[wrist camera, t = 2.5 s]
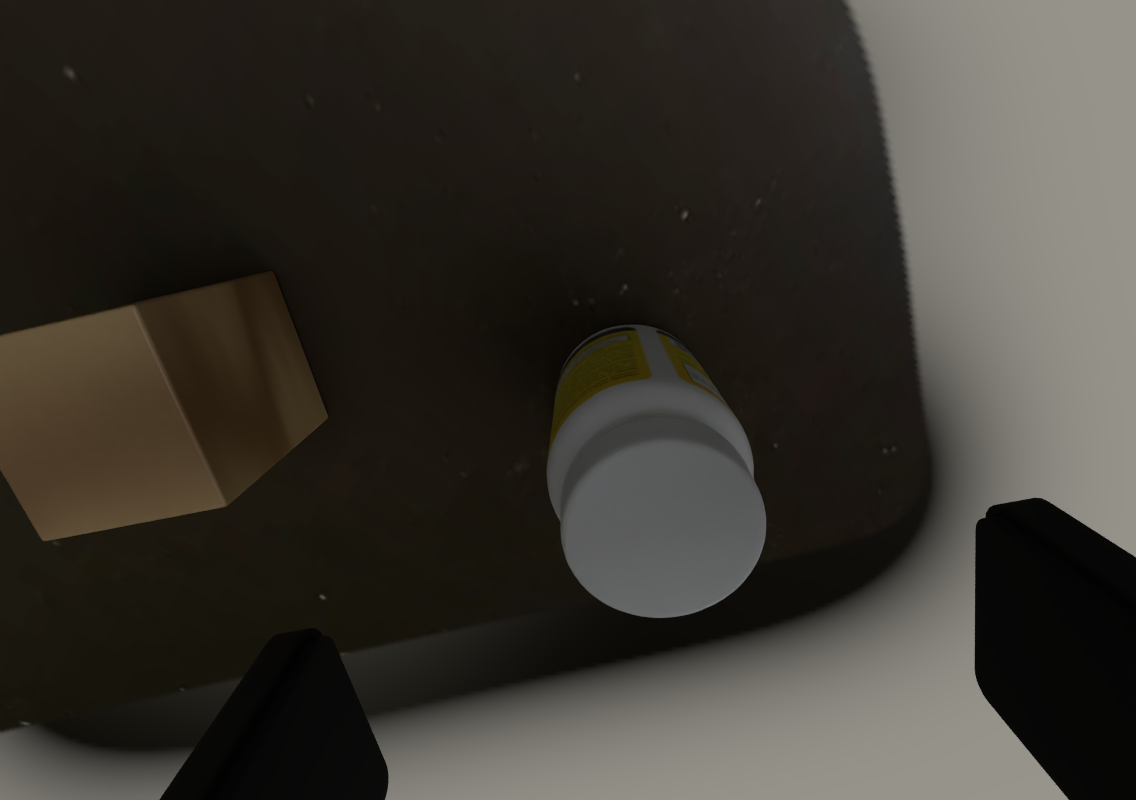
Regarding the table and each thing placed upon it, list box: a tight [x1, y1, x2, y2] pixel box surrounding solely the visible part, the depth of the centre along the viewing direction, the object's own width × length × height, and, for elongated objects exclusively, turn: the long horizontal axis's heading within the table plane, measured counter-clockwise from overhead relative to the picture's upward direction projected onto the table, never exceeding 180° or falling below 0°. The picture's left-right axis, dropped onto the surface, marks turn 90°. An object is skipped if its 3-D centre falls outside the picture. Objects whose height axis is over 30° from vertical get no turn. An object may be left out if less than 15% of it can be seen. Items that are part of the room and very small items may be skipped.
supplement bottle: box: [547, 325, 766, 618], centre depth 15 cm, size 5×5×8 cm
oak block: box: [0, 271, 328, 541], centre depth 16 cm, size 5×5×6 cm
